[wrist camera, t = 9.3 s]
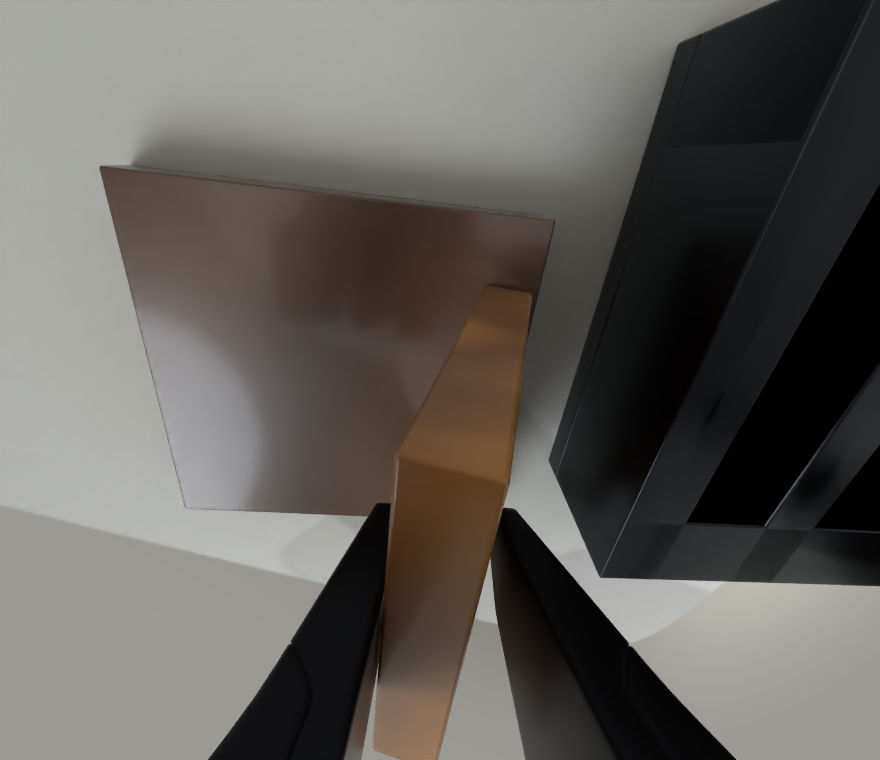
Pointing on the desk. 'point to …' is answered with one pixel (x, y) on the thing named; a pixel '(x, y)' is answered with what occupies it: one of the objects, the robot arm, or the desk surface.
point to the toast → (447, 523)
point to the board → (302, 325)
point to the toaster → (742, 318)
